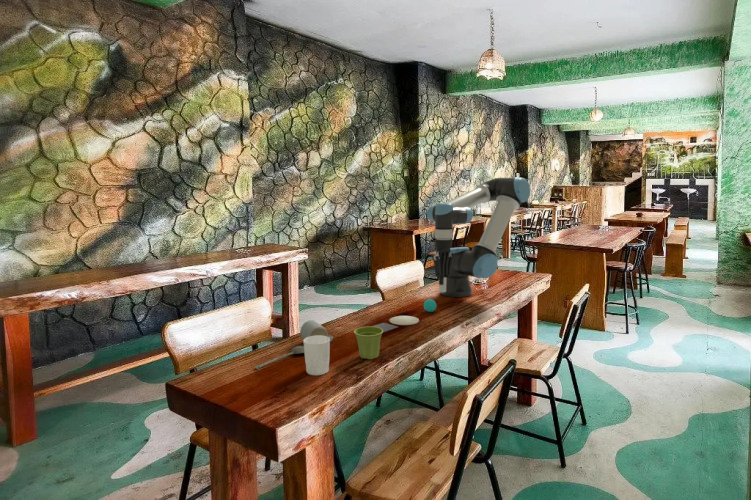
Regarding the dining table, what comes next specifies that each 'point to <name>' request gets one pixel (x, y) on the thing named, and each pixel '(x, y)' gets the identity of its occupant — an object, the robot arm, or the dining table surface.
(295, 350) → the soupspoon
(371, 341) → the plant pot
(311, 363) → the white cup
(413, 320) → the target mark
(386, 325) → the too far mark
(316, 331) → the ceramic mug
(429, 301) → the ball
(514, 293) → the dining table surface
